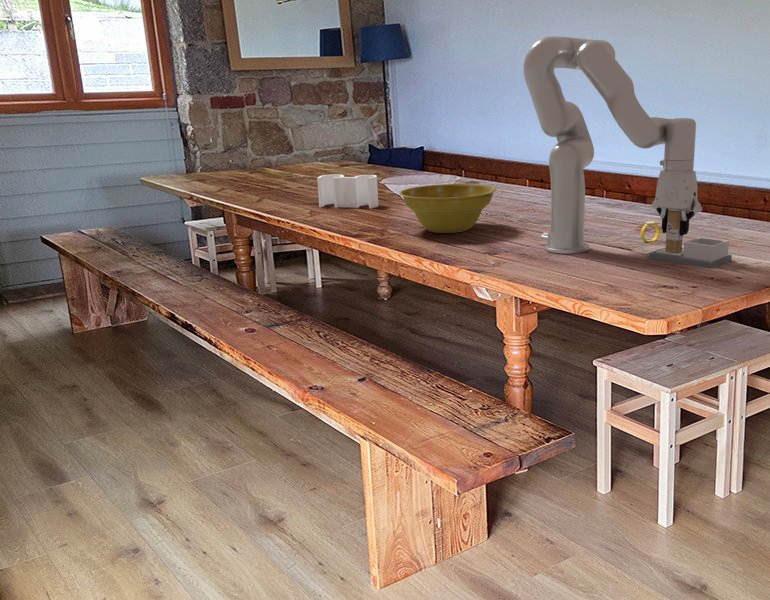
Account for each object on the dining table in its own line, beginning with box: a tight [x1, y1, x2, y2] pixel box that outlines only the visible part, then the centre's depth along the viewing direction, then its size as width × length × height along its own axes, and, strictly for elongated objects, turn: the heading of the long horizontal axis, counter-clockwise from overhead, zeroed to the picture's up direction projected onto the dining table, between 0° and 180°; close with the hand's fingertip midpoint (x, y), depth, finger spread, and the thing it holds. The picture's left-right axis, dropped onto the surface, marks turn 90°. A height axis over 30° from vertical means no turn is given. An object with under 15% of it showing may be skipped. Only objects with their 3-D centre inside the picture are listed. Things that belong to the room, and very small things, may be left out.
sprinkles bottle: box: [664, 209, 684, 252], centre depth 221 cm, size 5×5×14 cm
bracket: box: [316, 173, 379, 209], centre depth 328 cm, size 25×10×12 cm, turn 66°
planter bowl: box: [398, 183, 497, 234], centre depth 272 cm, size 32×32×13 cm
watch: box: [639, 220, 661, 243], centre depth 242 cm, size 6×3×6 cm, turn 110°
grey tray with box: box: [647, 236, 733, 269], centre depth 219 cm, size 18×11×6 cm, turn 42°
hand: (674, 232), depth 222 cm, fingers closed on sprinkles bottle, 4 cm apart
